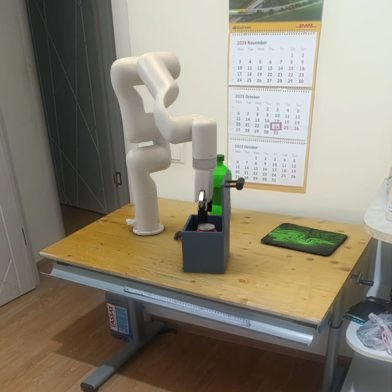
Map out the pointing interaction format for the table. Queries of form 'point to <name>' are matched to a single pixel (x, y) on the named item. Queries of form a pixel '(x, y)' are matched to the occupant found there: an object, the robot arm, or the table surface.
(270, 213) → the table surface
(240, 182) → the chest lid
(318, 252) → the mouse mat
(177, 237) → the rusty metal lantern
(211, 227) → the soda can
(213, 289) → the table surface
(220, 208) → the plastic bottle
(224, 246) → the toy chest
